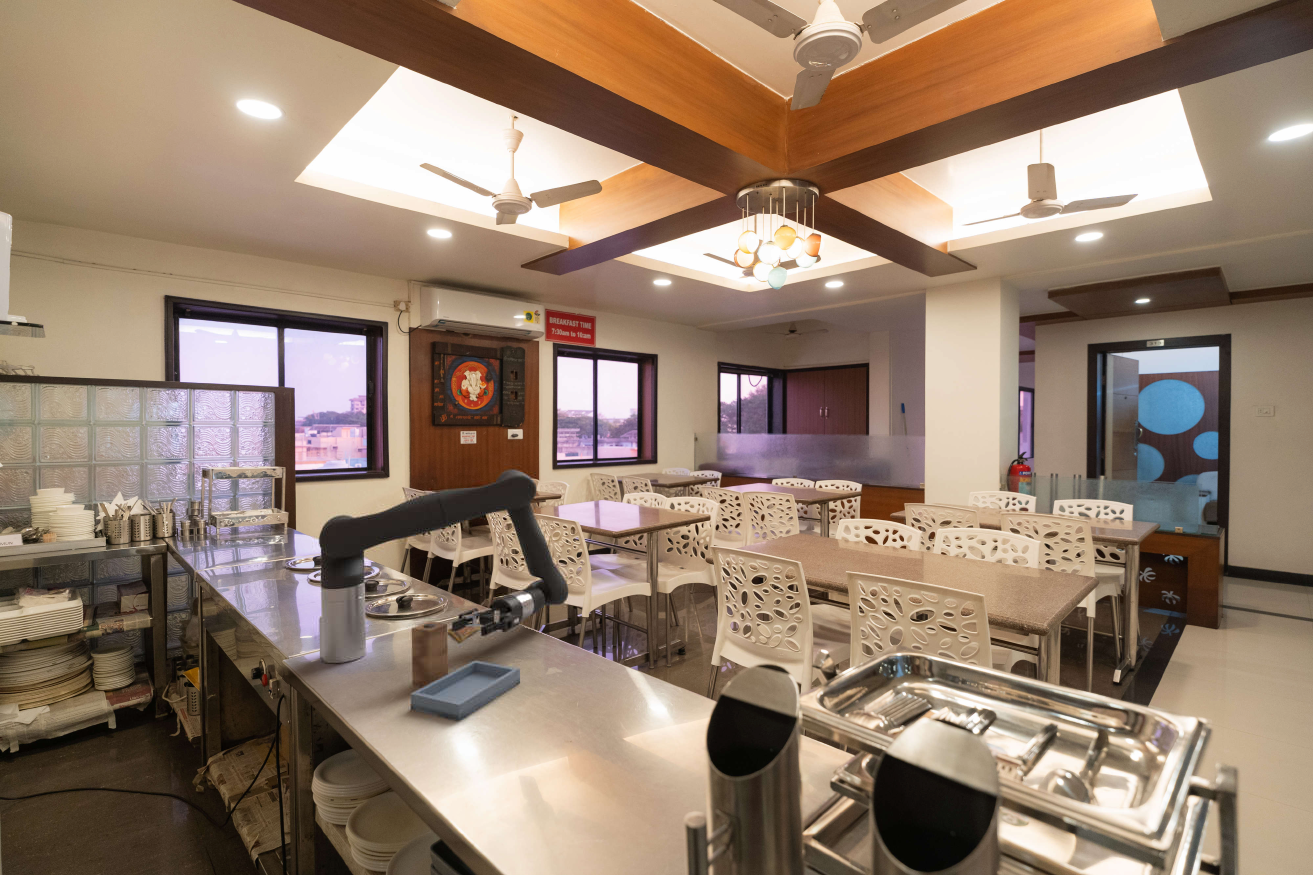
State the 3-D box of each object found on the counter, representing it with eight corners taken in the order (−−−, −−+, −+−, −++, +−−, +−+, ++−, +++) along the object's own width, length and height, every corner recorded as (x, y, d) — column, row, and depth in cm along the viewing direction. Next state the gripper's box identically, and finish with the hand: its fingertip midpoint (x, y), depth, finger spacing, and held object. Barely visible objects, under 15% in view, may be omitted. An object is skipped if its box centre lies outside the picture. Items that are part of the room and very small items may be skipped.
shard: (460, 644, 152) (460, 637, 152) (433, 642, 154) (433, 635, 154) (482, 630, 163) (482, 623, 163) (456, 628, 164) (456, 622, 164)
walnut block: (412, 684, 128) (411, 627, 127) (430, 675, 132) (429, 620, 132) (430, 688, 125) (429, 630, 125) (448, 679, 130) (447, 623, 130)
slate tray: (411, 709, 116) (410, 693, 116) (475, 673, 133) (475, 660, 133) (459, 720, 111) (459, 704, 111) (520, 682, 128) (519, 668, 128)
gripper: (489, 591, 156) (443, 609, 142) (534, 597, 151) (491, 616, 136) (490, 620, 157) (444, 641, 142) (535, 626, 151) (492, 649, 136)
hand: (467, 629), depth 139 cm, fingers open, 8 cm apart
